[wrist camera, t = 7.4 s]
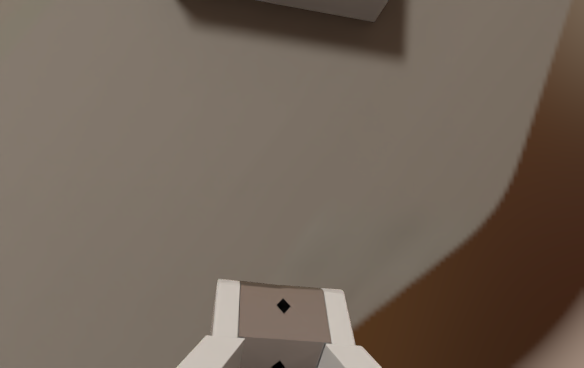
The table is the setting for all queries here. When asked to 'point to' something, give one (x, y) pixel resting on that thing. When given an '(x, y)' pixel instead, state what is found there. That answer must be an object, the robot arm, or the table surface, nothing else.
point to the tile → (339, 7)
